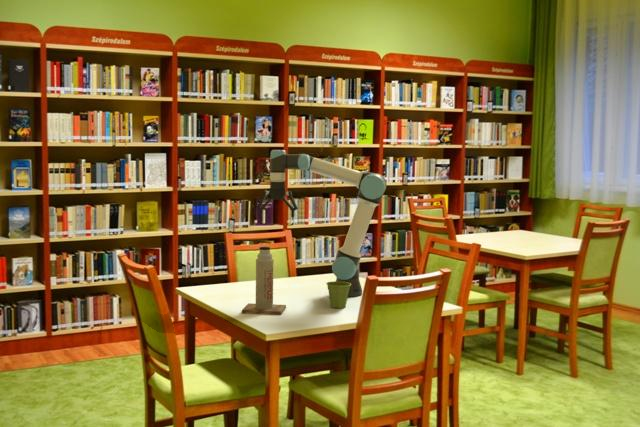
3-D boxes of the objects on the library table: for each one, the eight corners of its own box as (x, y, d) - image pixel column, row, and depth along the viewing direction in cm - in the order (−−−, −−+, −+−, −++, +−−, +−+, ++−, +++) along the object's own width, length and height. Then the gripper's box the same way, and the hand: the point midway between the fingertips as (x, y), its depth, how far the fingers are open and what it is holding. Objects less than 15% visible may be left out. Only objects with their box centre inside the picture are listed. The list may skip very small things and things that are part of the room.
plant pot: (342, 310, 349) (343, 287, 348) (321, 307, 355) (321, 284, 354) (355, 306, 359) (355, 283, 358) (334, 303, 365) (334, 280, 364)
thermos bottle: (275, 308, 345) (276, 247, 342) (259, 309, 341) (260, 248, 339) (268, 304, 352) (269, 245, 349) (252, 306, 348) (253, 246, 346)
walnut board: (286, 308, 353) (286, 304, 353) (281, 314, 339) (281, 311, 339) (248, 306, 355) (248, 303, 355) (241, 313, 341) (241, 309, 341)
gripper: (303, 181, 376) (303, 223, 378) (254, 180, 379) (254, 222, 381) (301, 182, 369) (300, 225, 371) (251, 180, 371) (251, 223, 373)
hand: (277, 223), depth 376 cm, fingers open, 13 cm apart
